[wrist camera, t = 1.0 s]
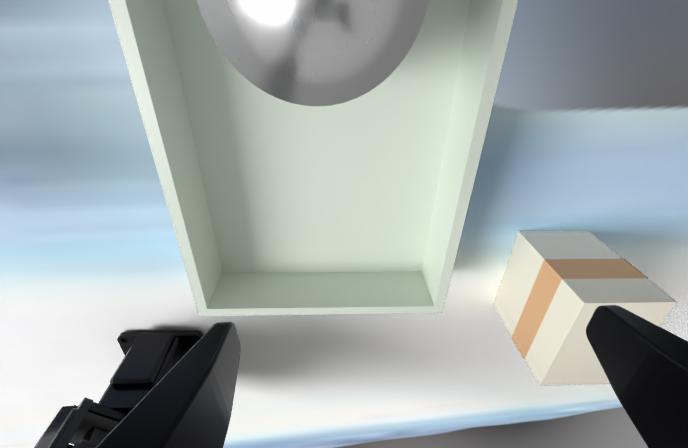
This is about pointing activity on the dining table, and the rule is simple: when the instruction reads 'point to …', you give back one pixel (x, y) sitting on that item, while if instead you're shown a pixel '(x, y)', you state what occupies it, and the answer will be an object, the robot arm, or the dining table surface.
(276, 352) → the dining table surface
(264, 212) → the tote
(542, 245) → the taped carton
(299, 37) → the tin can
